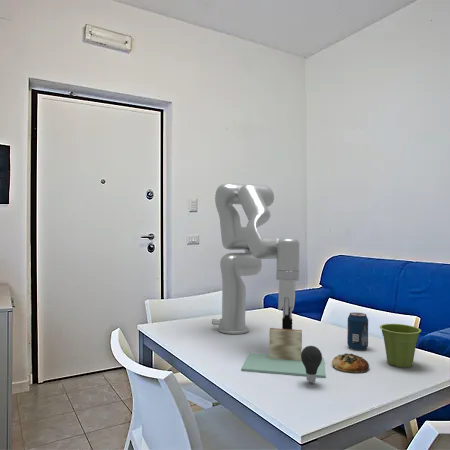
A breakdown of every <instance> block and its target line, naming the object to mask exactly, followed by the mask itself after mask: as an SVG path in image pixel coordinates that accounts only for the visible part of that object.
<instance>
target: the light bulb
mask: <svg viewBox="0 0 450 450" xmlns="http://www.w3.org/2000/svg"><path fill="white" fill-rule="evenodd" d="M322 358H323V355H322V352H321V350H320V349H319V348H318V347H316V346H315V345H307V346H305V347H304V348H303V349H302V353H301V360H302V362H303V364H304V366H305V369H306V373H307V376H306V381H307V382H308V383H309V384H312V385H313V384H314V383H315V382H316V380H317V377H316V373H317V369H318V367H319V366H320V364H321V361H322Z"/></svg>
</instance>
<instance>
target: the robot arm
mask: <svg viewBox="0 0 450 450" xmlns="http://www.w3.org/2000/svg"><path fill="white" fill-rule="evenodd" d="M214 196H215V197H214V201H215V202H214V203H215V207H216V210H217V213H218V217H219V225H220V236H221V244H222V246H223V248H224V249H225V250H229V251H231V250H232V251H238V250H239V251H240V250H241V251H244V252H230V253H226V254H224V255H222V257H221V258H220V265H219V266H220V272H221V273H220V274H221V280H222V286H221V287H222V288H221V291H222V292H221V295H222V298H221V301H222V302H221V318H219V319H216V318H215V319H214V318H212V319H211V325H213V326H217V325H218V327H217V331H219V332H220V333H222V334H227V335H242V334H246V333H249V330H250V327H249V326H247V325H246V300H247V299H246V297H247V296H246V293H247V292H246V291H247V289H246V285H245V282H244V281H243V279H242V277H247V276H249V277H250V276H256V275H258V274H259V273H260V272H261V271H262V266H263V263H262V261H263V260H276V277H275V278H276V280H277V281H278V306H277V310H279V311H281V310H282V318H281V319H282V323H281V324H282V327H281V329H293V318H292V317H293V314H292V313H293V311H294V307H295V299H296V281H300V242H299V240H298V239H297V238H286V237H285V238H284V237H272V236H271V237H270V236H269V237H268V236H267V237H266V236H264V237H261V235H260V232H259V231H258V229H257V228H259V227H261V226H263V225H264V224H266V223H267V222H268V221H269V220H270V218H271V211H270V210H269V207H270V206H272V204H273V203H274V200H275V194H274V191H273V189H272V188H271V187H270V186H268V185H265V184H251V183H250V184H249V183H248V184H243V183H231V182H229V183H228V182H227V183H223V184H222V183H221V184H220V185H219V186H218V187H217V188H216V191H215V194H214ZM233 205H240V206H242V207H241V208H242V209H243V211H244V213H245V215H246V218H247V220H248V222H247V224H246V226H242V224H241V216H240V213H239V212H238V211H237V209H236V208H235V206H233Z"/></svg>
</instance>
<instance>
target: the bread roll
mask: <svg viewBox="0 0 450 450" xmlns="http://www.w3.org/2000/svg"><path fill="white" fill-rule="evenodd" d="M331 363H332V364H331V365H332V366H333V368H335V369H337V370H338V371H340V372H342V373H350V374H352V373H356V374H357V373H359V374H360V373H364V372H367V371H368V370H369V369H370V364H369V362H368V361H367V360H366V359H365V358H363V357H362V356H359V355H357V354H353V353H343V354H338V355H335V356H334V357H333V359H332V361H331Z"/></svg>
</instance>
